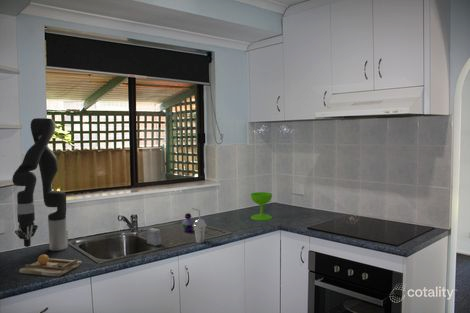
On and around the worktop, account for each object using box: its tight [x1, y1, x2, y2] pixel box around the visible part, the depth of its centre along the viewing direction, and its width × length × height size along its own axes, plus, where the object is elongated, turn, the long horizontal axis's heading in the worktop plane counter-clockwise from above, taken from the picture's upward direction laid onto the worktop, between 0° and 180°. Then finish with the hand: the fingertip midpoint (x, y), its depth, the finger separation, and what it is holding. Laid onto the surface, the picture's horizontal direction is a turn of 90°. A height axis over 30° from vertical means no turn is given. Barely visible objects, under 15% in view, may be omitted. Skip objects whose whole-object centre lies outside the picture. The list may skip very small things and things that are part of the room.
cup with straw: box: [191, 207, 208, 244], centre depth 233 cm, size 8×9×20 cm
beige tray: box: [19, 257, 83, 277], centre depth 192 cm, size 17×22×4 cm
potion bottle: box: [181, 212, 195, 233], centre depth 256 cm, size 9×9×12 cm
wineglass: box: [250, 191, 273, 221], centre depth 293 cm, size 16×16×18 cm
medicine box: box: [146, 227, 162, 246], centre depth 230 cm, size 8×4×9 cm, turn 48°
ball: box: [37, 254, 50, 265], centre depth 193 cm, size 5×5×5 cm
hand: (27, 246), depth 194 cm, fingers closed
